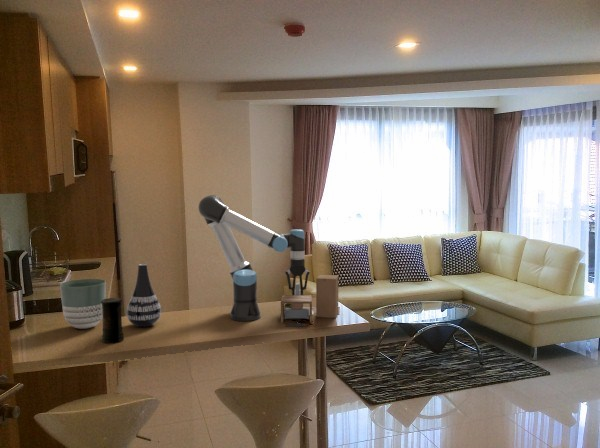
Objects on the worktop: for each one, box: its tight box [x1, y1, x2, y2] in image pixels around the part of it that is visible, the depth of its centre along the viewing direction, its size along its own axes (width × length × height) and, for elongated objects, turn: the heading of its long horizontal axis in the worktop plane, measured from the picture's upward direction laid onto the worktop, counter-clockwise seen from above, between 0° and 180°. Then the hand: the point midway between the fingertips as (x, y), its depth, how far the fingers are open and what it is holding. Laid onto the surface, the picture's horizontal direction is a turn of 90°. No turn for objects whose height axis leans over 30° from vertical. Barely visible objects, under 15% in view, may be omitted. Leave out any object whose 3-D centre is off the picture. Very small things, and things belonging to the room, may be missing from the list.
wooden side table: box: [280, 294, 313, 324], centre depth 257 cm, size 14×15×10 cm
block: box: [290, 304, 304, 309], centre depth 261 cm, size 6×6×8 cm
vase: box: [126, 263, 162, 329], centre depth 246 cm, size 16×16×30 cm
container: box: [101, 297, 124, 345], centre depth 223 cm, size 9×9×18 cm
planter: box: [59, 278, 107, 330], centre depth 244 cm, size 20×20×21 cm
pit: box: [285, 322, 308, 328], centre depth 246 cm, size 5×10×1 cm, turn 89°
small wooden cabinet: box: [284, 282, 310, 320], centre depth 267 cm, size 23×12×14 cm, turn 179°
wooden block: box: [315, 274, 339, 319], centre depth 263 cm, size 10×10×20 cm
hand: (297, 302), depth 276 cm, fingers closed on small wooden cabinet, 2 cm apart
